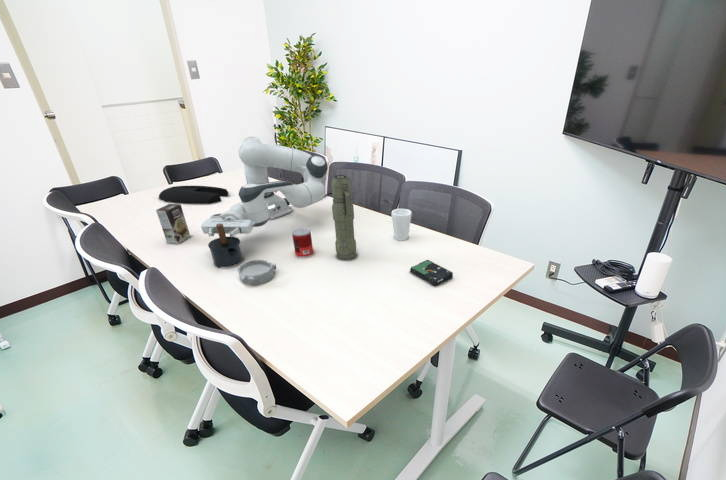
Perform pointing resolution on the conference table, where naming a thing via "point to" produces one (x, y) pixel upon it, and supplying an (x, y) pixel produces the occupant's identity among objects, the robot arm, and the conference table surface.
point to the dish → (256, 271)
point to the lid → (223, 240)
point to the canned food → (302, 242)
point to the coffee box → (173, 223)
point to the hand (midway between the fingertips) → (220, 234)
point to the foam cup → (401, 223)
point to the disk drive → (431, 272)
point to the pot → (227, 257)
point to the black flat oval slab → (193, 194)
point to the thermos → (343, 218)
